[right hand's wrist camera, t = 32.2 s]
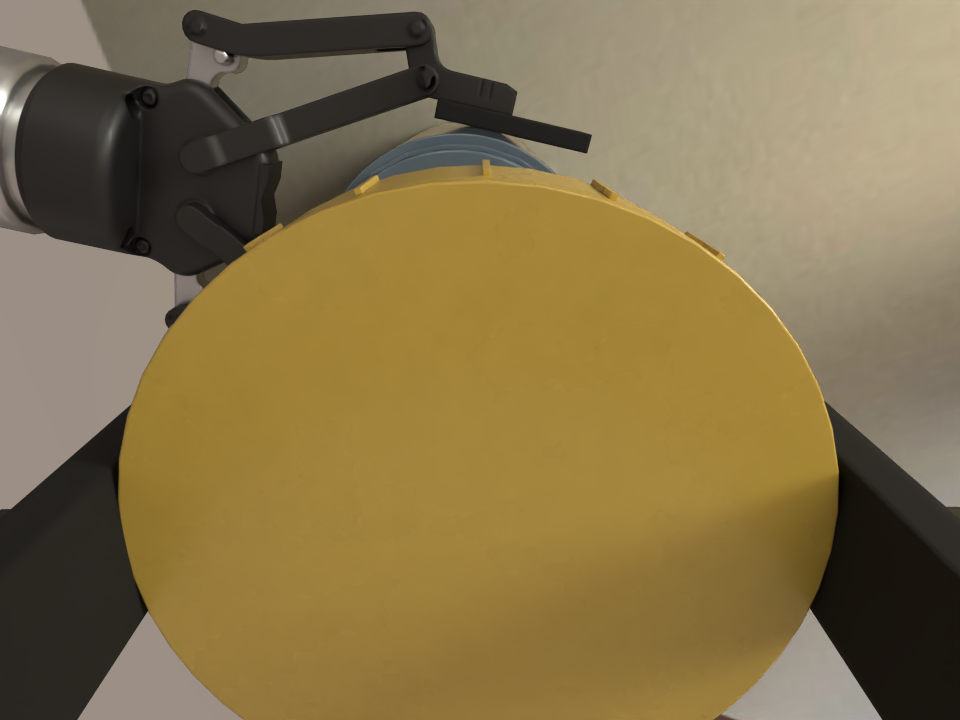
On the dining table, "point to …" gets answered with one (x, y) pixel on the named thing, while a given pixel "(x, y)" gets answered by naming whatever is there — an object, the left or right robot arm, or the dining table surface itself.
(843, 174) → the dining table surface
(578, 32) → the dining table surface
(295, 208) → the dining table surface
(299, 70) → the dining table surface
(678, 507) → the lid
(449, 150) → the jar
